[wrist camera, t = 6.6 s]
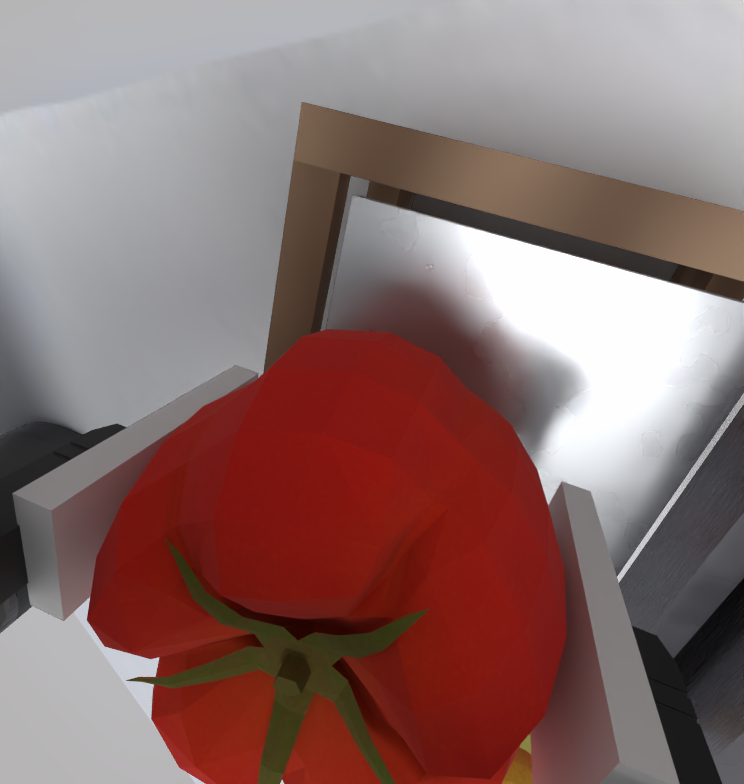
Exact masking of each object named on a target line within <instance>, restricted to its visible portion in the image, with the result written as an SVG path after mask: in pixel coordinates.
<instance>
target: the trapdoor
mask: <svg viewBox="0 0 744 784" xmlns="http://www.w3.org/2000/svg"><path fill="white" fill-rule="evenodd" d="M326 329H335V330H353V331H371V332H389V333H393V334H395V335H397V336H399V337H401V338H402V339H404V340H406V341H408V342H410V343H412V344H414V345H416V346H418V347H420V348H422V349H424V350H426V351H428V352H430V353H433V354H435V355H437V356H439V357H440V358H441V359H442V360H443V362H444V363H445V364H446V365H447V366H448V367H449V369H450V370H451V371H452V372H453V373H454V374H455V376H456V377H457V378H458V379H459V380H460V381H461V383H462V384H463V385H464V386H465V387H466V388H467V389H468V390H470V391H471V392H473V393H474V394H476V395H477V396H479V397H480V398H481V399H482V400H484V401H485V402H486V403H487V404H489V405H490V406H491V407H492V408H494V409H495V410H496V411H497V412H499V413H500V414H501V415H502V416H503V417H504V418H505V419H506V420H507V421H508V422H509V423H510V424H511V425H512V427H513V429H514V430H515V432H516V434H517V436H518V437H519V439H520V441H521V442H522V444H523V446H524V448H525V449H526V451H527V453H528V454H529V456H530V458H531V460H532V461H533V463H534V465H535V466H536V468H537V470H538V474H539V477H540V480H541V484H542V487H543V490H544V493H545V497H546V500H547V503H548V505H549V503H550V502H551V500H552V498H553V496H554V494H555V492H556V490H557V489H558V487H559V485H560V483H561V481H563V482H566V483H569V484H571V485H574V486H577V487H580V488H583V489H585V490H588V491H591V494H592V497H593V500H594V504H595V507H596V510H597V514H598V517H599V520H600V523H601V527H602V530H603V533H604V537H605V540H606V543H607V547H608V550H609V553H610V556H611V560H612V563H613V566H614V570H615V573H616V576H618V574H619V573H620V572H621V570H622V569H623V567H624V566H625V564H626V563H627V561H628V560H629V558H630V557H631V556H632V554H633V553H634V551H635V550H636V548H637V547H638V545H639V544H640V542H641V541H642V540H643V538H644V537H645V535H646V534H647V532H648V531H649V529H650V528H651V526H652V525H653V524H654V522H655V521H656V519H657V518H658V516H659V515H660V513H661V512H662V511H663V509H664V508H665V506H666V505H667V503H668V502H669V500H670V499H671V497H672V496H673V495H674V493H675V492H676V490H677V489H678V487H679V486H680V484H681V483H682V481H683V480H684V479H685V477H686V476H687V474H688V473H689V471H690V470H691V468H692V467H693V465H694V464H695V463H696V461H697V460H698V458H699V457H700V455H701V454H702V452H703V451H704V450H705V448H706V447H707V445H708V444H709V442H710V441H711V439H712V438H713V436H714V435H715V434H716V432H717V431H718V429H719V428H720V426H721V425H722V423H723V422H724V420H725V419H726V418H727V416H728V415H729V413H730V412H731V410H732V409H733V407H734V406H735V404H736V403H737V402H738V400H739V399H740V397H741V396H742V394H743V393H744V301H740V300H736V299H733V298H729V297H725V296H722V295H718V294H715V293H711V292H707V291H704V290H700V289H696V288H693V287H689V286H686V285H682V284H678V283H675V282H671V281H667V280H664V279H660V278H657V277H653V276H649V275H646V274H642V273H638V272H635V271H631V270H628V269H624V268H620V267H617V266H613V265H609V264H606V263H602V262H599V261H595V260H591V259H588V258H584V257H580V256H577V255H573V254H570V253H566V252H562V251H559V250H555V249H551V248H548V247H544V246H541V245H537V244H533V243H530V242H526V241H522V240H519V239H515V238H512V237H508V236H504V235H501V234H497V233H493V232H490V231H486V230H483V229H479V228H475V227H472V226H468V225H464V224H461V223H457V222H454V221H450V220H446V219H443V218H439V217H435V216H432V215H428V214H425V213H421V212H417V211H414V210H410V209H406V208H403V207H399V206H396V205H392V204H388V203H385V202H381V201H378V200H374V199H370V198H367V197H363V196H355V195H352V200H351V205H350V210H349V215H348V220H347V225H346V230H345V235H344V240H343V245H342V250H341V254H340V259H339V264H338V269H337V274H336V279H335V284H334V289H333V294H332V299H331V304H330V309H329V314H328V319H327V324H326ZM326 329H325V330H326ZM619 586H620V589H621V593H622V596H623V599H624V602H625V606H626V609H627V612H628V616H629V619H630V622H631V626H634V627H636V628H639V629H641V630H644V631H647V632H649V633H652V634H654V635H657V636H658V638H659V639H660V641H661V642H662V643H663V645H664V646H665V648H666V649H667V650H668V652H669V653H670V655H671V656H672V658H673V659H674V660H675V662H676V663H677V665H678V668H679V671H680V673H681V676H682V678H683V681H684V684H685V686H686V689H687V692H688V694H687V697H688V698H689V699H690V700H691V702H692V705H693V708H694V710H695V713H696V715H697V723H698V724H700V726H701V729H702V731H703V734H704V737H705V739H706V742H707V744H708V747H709V750H710V752H711V755H712V758H713V760H714V763H715V766H716V768H717V771H718V774H719V776H720V779H721V781H722V784H744V405H743V406H742V408H741V409H740V410H739V412H738V413H737V415H736V416H735V418H734V419H733V421H732V422H731V423H730V425H729V426H728V428H727V429H726V431H725V432H724V433H723V435H722V436H721V438H720V439H719V441H718V442H717V443H716V445H715V446H714V448H713V449H712V451H711V452H710V453H709V455H708V456H707V458H706V459H705V461H704V462H703V463H702V465H701V466H700V468H699V469H698V471H697V472H696V474H695V475H694V476H693V478H692V479H691V481H690V482H689V484H688V485H687V486H686V488H685V489H684V491H683V492H682V494H681V495H680V496H679V498H678V499H677V501H676V502H675V504H674V505H673V506H672V508H671V509H670V511H669V512H668V514H667V515H666V517H665V518H664V519H663V521H662V522H661V524H660V525H659V527H658V528H657V529H656V531H655V532H654V534H653V535H652V537H651V538H650V539H649V541H648V542H647V544H646V545H645V547H644V548H643V549H642V551H641V552H640V554H639V555H638V557H637V558H636V559H635V561H634V562H633V564H632V565H631V567H630V568H629V570H628V571H627V572H626V574H625V575H624V577H623V578H622V580H621V581H620V582H619Z"/></svg>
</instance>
